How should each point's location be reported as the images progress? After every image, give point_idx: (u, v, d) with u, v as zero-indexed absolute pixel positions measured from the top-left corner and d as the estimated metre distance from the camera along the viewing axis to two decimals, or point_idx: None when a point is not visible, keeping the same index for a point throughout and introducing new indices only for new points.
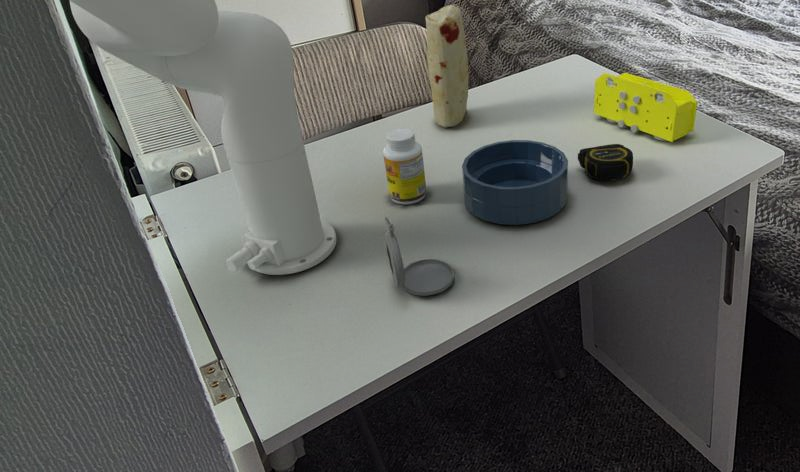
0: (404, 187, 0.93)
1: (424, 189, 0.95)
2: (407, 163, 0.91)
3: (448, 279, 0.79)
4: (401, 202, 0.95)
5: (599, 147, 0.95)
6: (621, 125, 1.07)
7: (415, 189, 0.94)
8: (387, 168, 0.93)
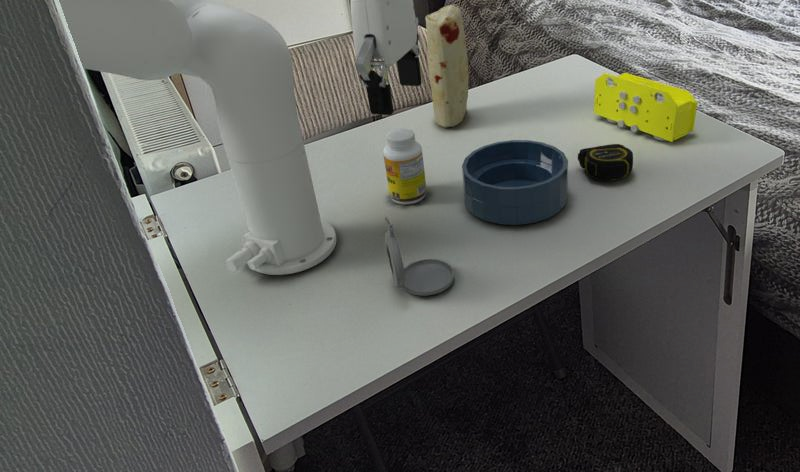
0: (404, 187, 0.93)
1: (424, 189, 0.95)
2: (407, 163, 0.91)
3: (448, 279, 0.79)
4: (401, 202, 0.95)
5: (599, 147, 0.95)
6: (621, 125, 1.07)
7: (415, 189, 0.94)
8: (387, 168, 0.93)
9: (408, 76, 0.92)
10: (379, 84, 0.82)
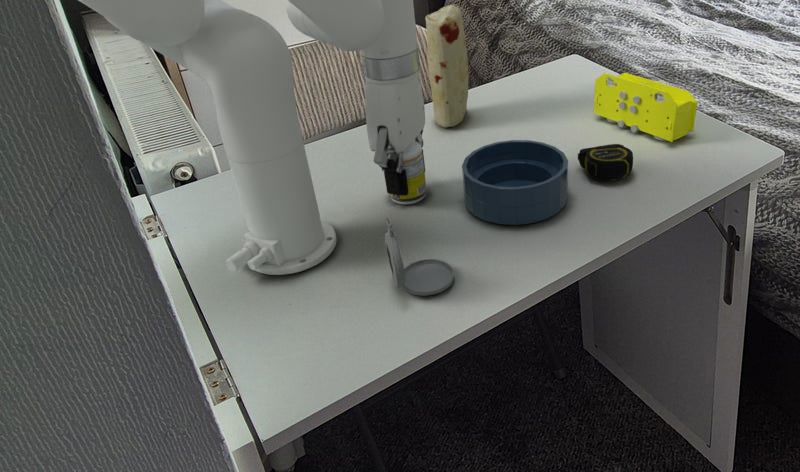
0: None
1: (424, 189, 0.95)
2: (407, 163, 0.91)
3: (448, 279, 0.79)
4: (401, 202, 0.95)
5: (599, 147, 0.95)
6: (621, 125, 1.07)
7: (415, 189, 0.94)
8: None
9: None
10: (396, 170, 0.90)
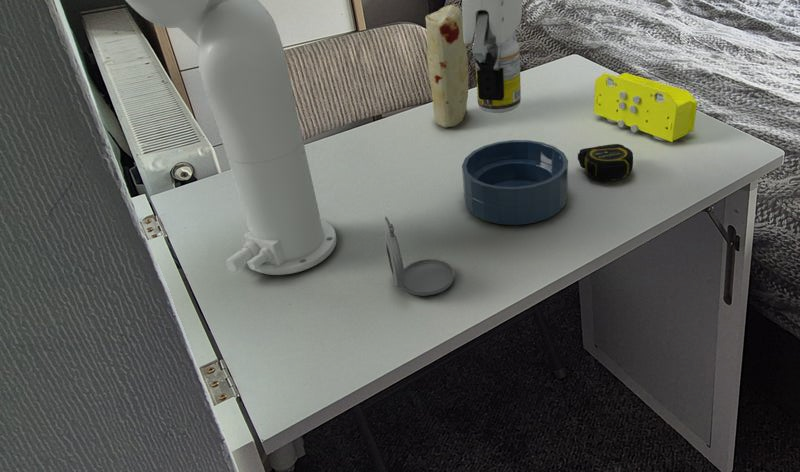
0: None
1: (519, 95, 0.83)
2: (504, 60, 0.79)
3: (448, 279, 0.79)
4: (494, 110, 0.83)
5: (599, 147, 0.95)
6: (621, 125, 1.07)
7: (511, 93, 0.82)
8: None
9: None
10: (494, 67, 0.78)
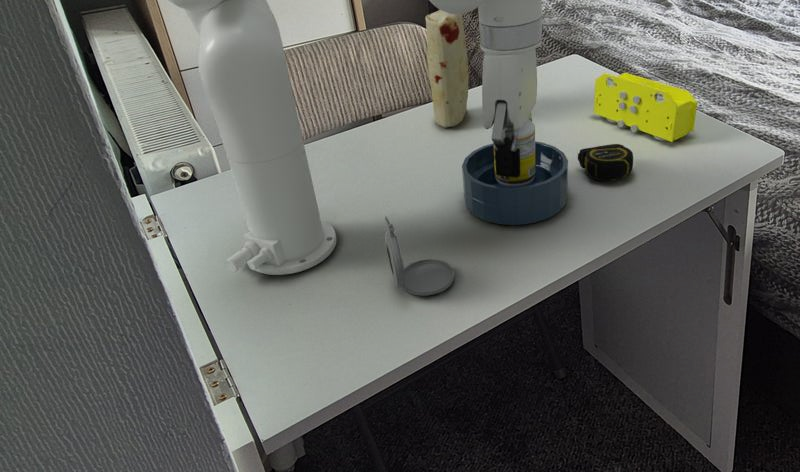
0: None
1: (534, 170, 0.89)
2: (521, 141, 0.85)
3: (448, 279, 0.79)
4: (510, 184, 0.88)
5: (599, 147, 0.95)
6: (621, 125, 1.07)
7: (526, 170, 0.87)
8: None
9: None
10: (511, 149, 0.83)
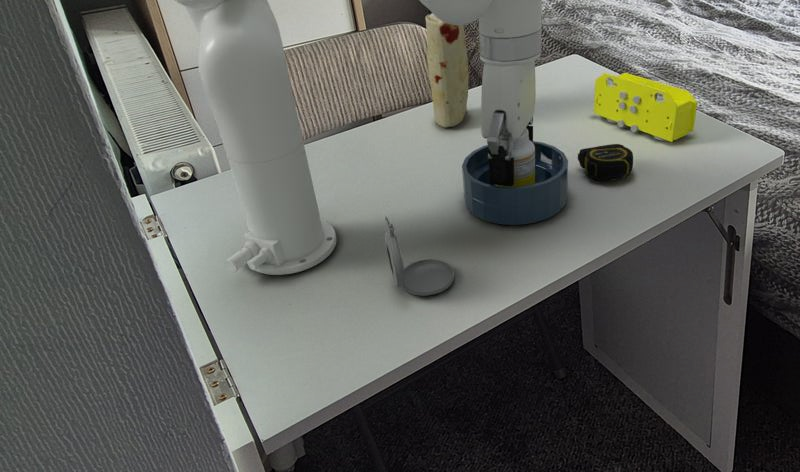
0: None
1: None
2: (521, 161, 0.86)
3: (448, 279, 0.79)
4: None
5: (599, 147, 0.95)
6: (621, 125, 1.07)
7: None
8: None
9: None
10: (505, 158, 0.82)
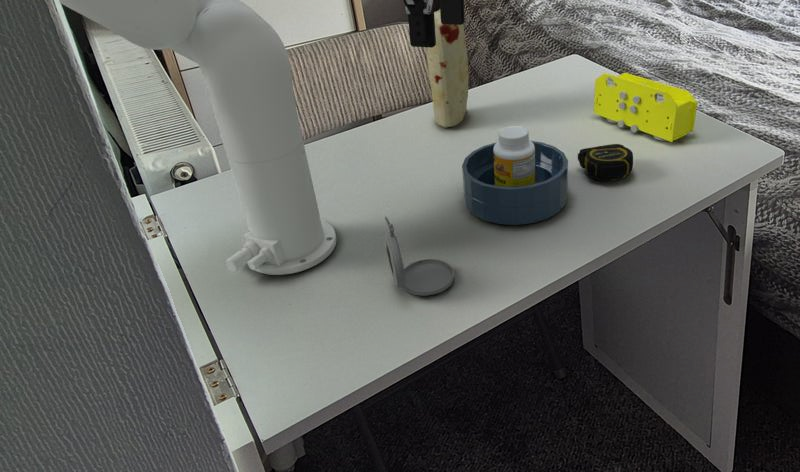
0: None
1: None
2: (521, 161, 0.86)
3: (448, 279, 0.79)
4: None
5: (599, 147, 0.95)
6: (621, 125, 1.07)
7: None
8: (498, 167, 0.88)
9: (451, 13, 0.85)
10: (423, 10, 0.75)
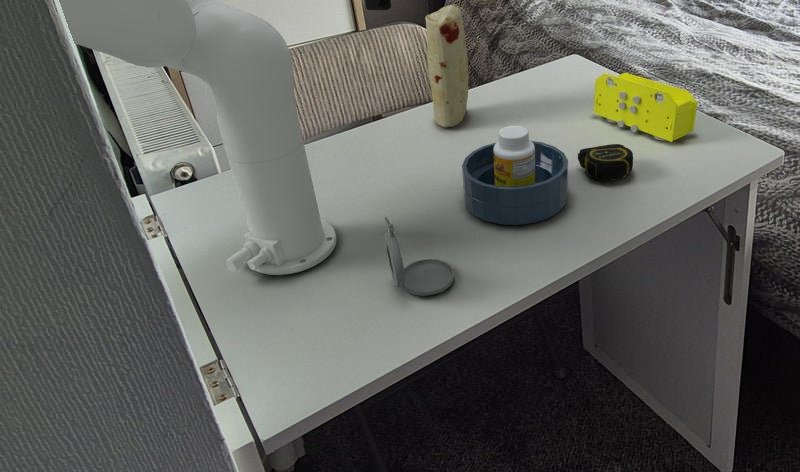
0: None
1: None
2: (521, 161, 0.86)
3: (448, 279, 0.79)
4: None
5: (599, 147, 0.95)
6: (621, 125, 1.07)
7: None
8: (498, 167, 0.88)
9: None
10: None
